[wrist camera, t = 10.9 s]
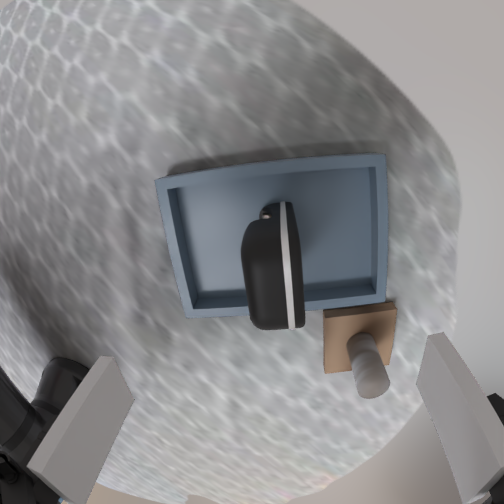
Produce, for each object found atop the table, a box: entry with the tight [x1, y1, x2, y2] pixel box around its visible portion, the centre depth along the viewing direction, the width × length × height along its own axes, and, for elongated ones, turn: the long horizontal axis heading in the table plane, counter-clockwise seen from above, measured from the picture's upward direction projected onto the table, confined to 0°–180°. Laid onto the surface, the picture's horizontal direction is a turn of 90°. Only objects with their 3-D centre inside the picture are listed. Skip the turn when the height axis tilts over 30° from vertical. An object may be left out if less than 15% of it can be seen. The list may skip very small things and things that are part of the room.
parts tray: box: [155, 153, 388, 318], centre depth 28 cm, size 20×14×3 cm
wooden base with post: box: [323, 302, 397, 399], centre depth 29 cm, size 8×8×9 cm
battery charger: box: [241, 201, 305, 330], centre depth 23 cm, size 7×4×11 cm, turn 7°
